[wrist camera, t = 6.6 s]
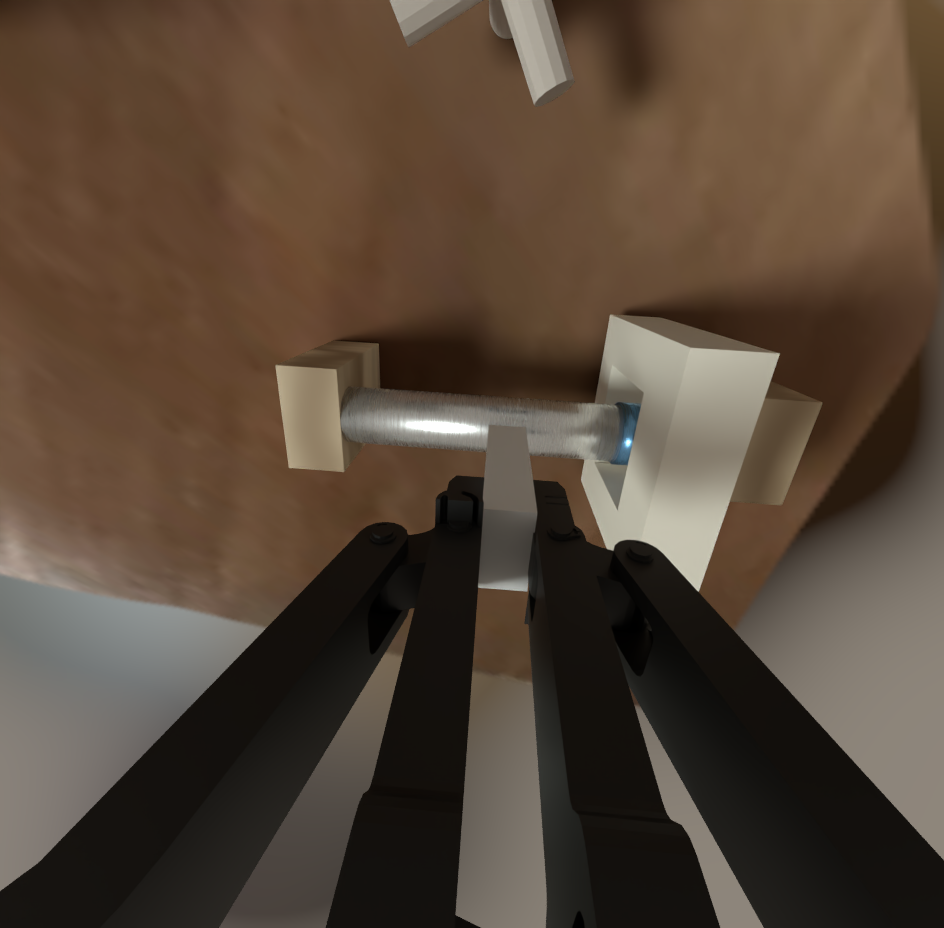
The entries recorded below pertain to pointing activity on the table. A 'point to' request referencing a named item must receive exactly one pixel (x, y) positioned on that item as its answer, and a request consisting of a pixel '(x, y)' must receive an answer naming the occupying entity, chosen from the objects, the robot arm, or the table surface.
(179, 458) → the table surface
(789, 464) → the rod support stand
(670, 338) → the collar
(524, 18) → the pipe connector
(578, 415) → the steel rod
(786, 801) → the robot arm
